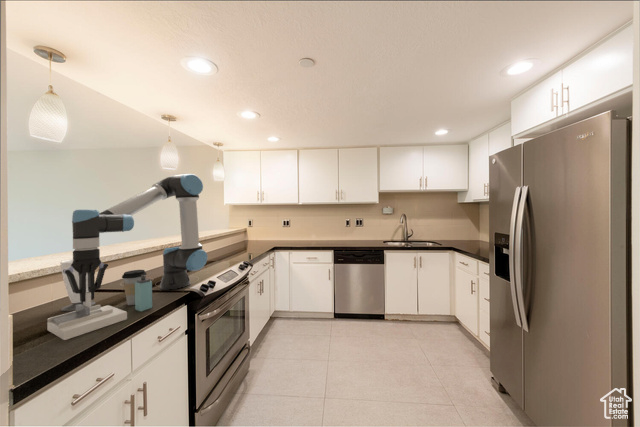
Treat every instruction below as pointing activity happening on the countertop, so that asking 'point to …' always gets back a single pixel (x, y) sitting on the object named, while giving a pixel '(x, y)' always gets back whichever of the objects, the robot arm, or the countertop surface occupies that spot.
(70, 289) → the cup
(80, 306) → the shutter
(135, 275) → the coffee cup
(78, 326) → the socket plate
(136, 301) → the teal bottle
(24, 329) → the countertop surface
